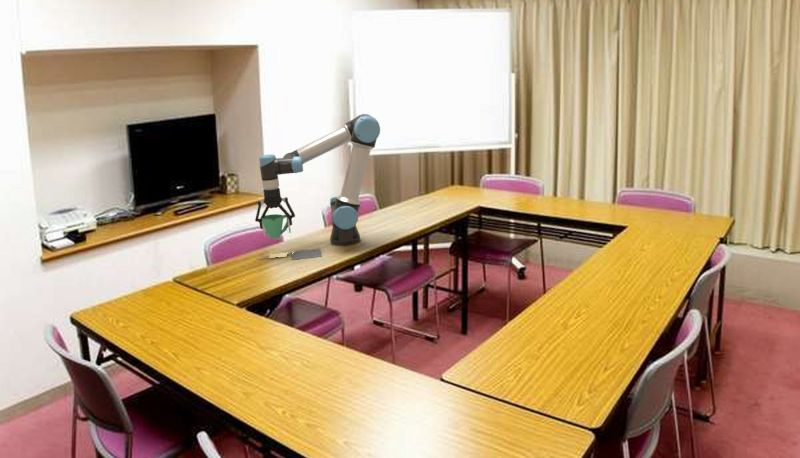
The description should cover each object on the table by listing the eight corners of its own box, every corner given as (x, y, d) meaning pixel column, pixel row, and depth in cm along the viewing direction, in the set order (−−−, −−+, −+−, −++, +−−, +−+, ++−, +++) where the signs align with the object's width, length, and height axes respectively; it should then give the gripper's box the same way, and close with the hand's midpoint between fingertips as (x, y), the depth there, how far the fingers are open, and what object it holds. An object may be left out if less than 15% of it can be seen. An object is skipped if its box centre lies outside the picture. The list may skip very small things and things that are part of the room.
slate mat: (320, 248, 332) (320, 248, 331) (321, 256, 318) (321, 256, 318) (291, 251, 330) (291, 251, 330) (291, 259, 316) (291, 259, 316)
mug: (272, 241, 314) (270, 220, 311) (259, 238, 320) (257, 217, 318) (297, 234, 324) (295, 214, 322) (283, 231, 331) (282, 211, 328)
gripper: (296, 184, 322) (302, 228, 328) (246, 189, 319) (252, 234, 324) (296, 186, 315) (302, 232, 320) (245, 192, 312) (251, 238, 317)
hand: (277, 233), depth 322 cm, fingers closed on mug, 11 cm apart
